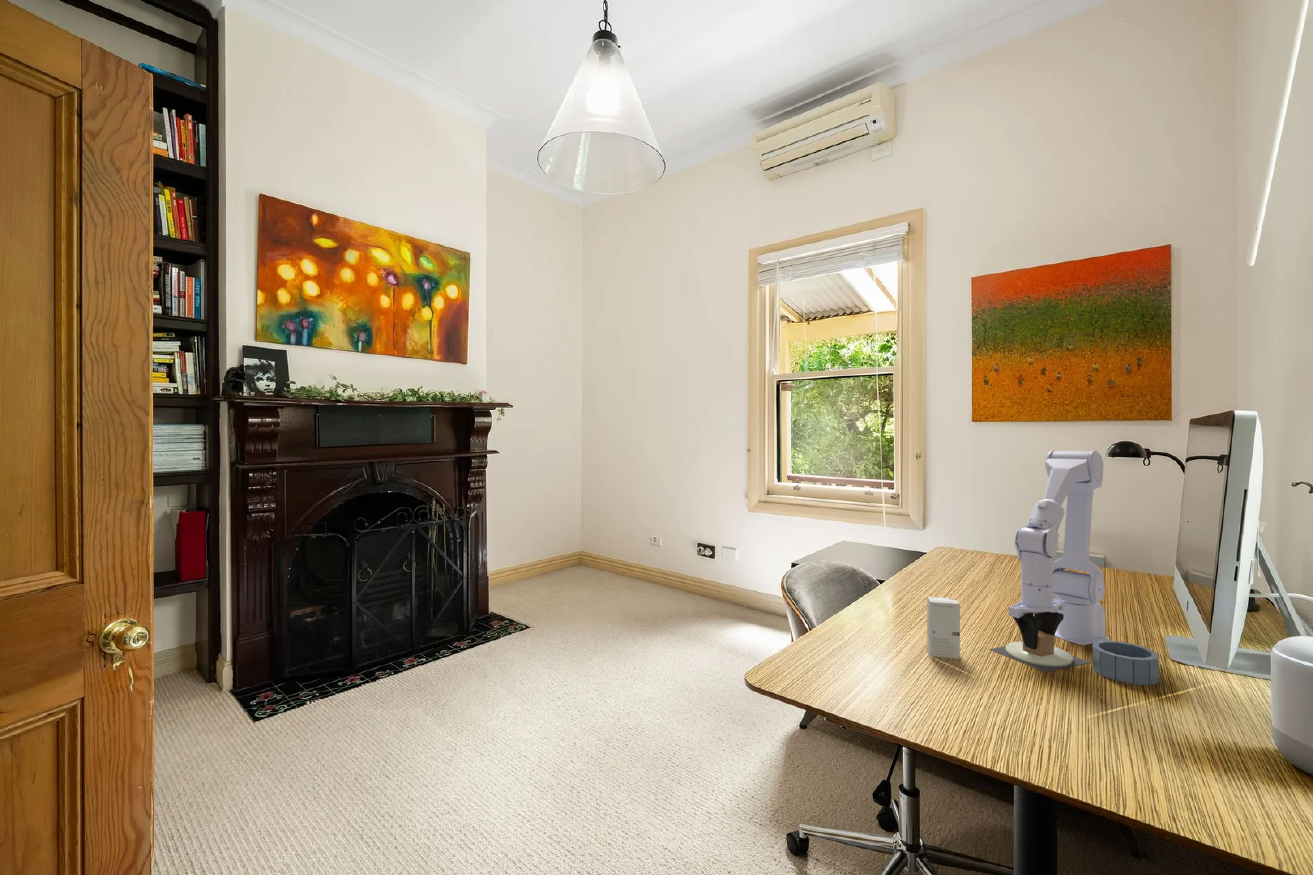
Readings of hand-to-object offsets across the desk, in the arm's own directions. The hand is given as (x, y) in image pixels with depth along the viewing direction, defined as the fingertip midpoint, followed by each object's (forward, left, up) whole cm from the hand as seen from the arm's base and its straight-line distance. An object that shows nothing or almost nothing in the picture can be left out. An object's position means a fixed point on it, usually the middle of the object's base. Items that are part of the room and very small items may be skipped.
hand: (1038, 646), depth 120 cm
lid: (0, 0, -2) cm, 2 cm away
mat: (0, 0, -2) cm, 2 cm away
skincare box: (+17, -8, -2) cm, 20 cm away
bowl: (-7, +13, -2) cm, 15 cm away
